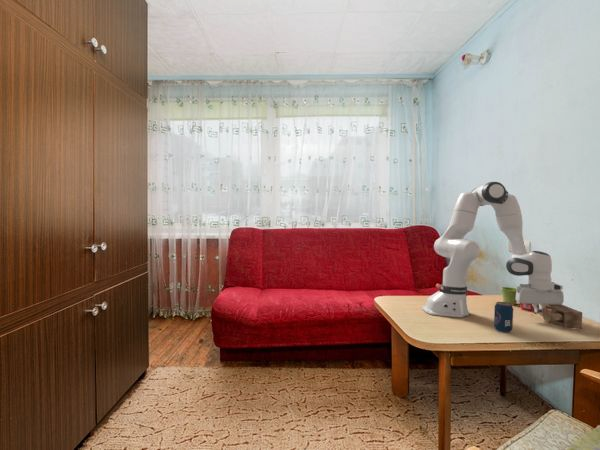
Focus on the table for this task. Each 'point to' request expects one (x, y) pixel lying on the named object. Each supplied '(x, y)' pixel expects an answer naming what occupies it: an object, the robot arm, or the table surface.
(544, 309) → the terracotta plug
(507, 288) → the plant pot
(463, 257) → the robot arm
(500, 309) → the soda can
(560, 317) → the oak plug
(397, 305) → the table surface
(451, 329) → the table surface
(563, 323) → the socket block
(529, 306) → the canned food
